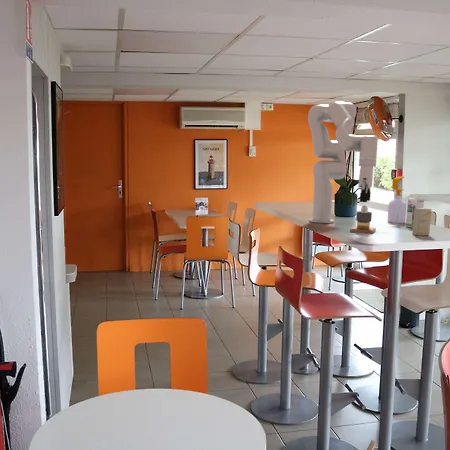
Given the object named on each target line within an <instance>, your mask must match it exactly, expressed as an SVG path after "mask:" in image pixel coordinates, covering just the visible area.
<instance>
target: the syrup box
mask: <svg viewBox="0 0 450 450" xmlns="http://www.w3.org/2000/svg"><path fill="white" fill-rule="evenodd" d="M424 205H425V199H422V198H415V197H409V198H407V204H406V218H405V227H406V228H412V229H413V220H414V208H424Z"/></svg>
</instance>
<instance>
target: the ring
mask: <svg viewBox="0 0 450 450" xmlns="http://www.w3.org/2000/svg"><path fill="white" fill-rule="evenodd" d="M372 214H373V213H372V212H371V211H368V213H362V212H361V210H360V211H356V217H355V221H356V222H357V221H362V222H370V223H371V222H372Z"/></svg>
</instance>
